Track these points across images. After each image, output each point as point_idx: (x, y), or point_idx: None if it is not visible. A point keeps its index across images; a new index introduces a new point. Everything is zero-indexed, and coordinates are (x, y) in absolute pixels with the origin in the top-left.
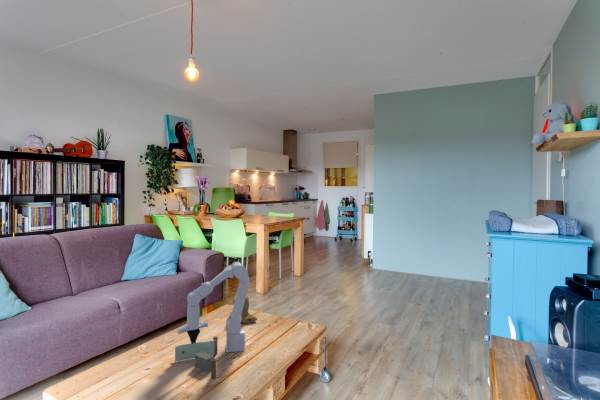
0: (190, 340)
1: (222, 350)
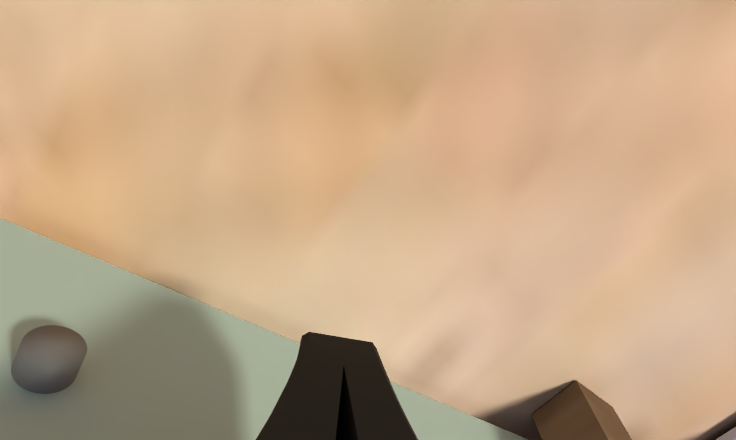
0: (285, 386)
1: (678, 420)
